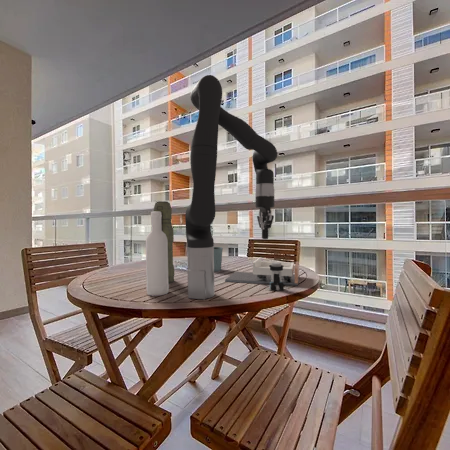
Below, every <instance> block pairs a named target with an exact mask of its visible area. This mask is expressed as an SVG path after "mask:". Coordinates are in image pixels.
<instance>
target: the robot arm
mask: <svg viewBox="0 0 450 450" xmlns="http://www.w3.org/2000/svg"><path fill="white" fill-rule="evenodd" d="M222 87H223V86H222V84H221V82H220V80H219V79H218V78H217V77H216V76H214V75H211V74H207V75H204V76H203V77H201V78H200V79H199V80H198V82H196V84H195V85H194V86H193V88H192V89H191V91H190V94H189V95H190V96H189V97H190V98H189V99H190V101H191V103H192V105H193V106H194V107H195V109H196V110H198V117H197V121H196V124H195V127H194V131H193V135H192V139H191V145H190V159H189V162H190V171H191V176H192V177H191V178H192V183H193V186H192V195H191V196H192V197H191V203H190V204H189V205H188V206H187V208H186V209H185V216H184V217H185V238H186V243H187V244H186V246H187V299H197V300H206V299H210V298H212V297H214V296H215V272H214V247H215V246H214V245H215V244H214V238H213V235H212V226H211V225H212V223H213V222H214V220H215V217H216V200H215V198H216V197H215V194H216V193H215V185H216V184H215V182H216V174H217V163H218V141H219V139H218V138H219V126H220V127H221V128H223V129H224V130H225V131H227V132H228V133H229V135H231V137H233V138H234V139H235V140H236V141H237V142H238V143H239V144H240V145H241V146H242V147H243V148H245V150H252V151H253V154H252V158H251V160H252V164H253V168H254V172H255V207H256V209H259V212H258V215H257V217H256V219H257V223H258V225H259V228H260V230H261V239H262V240H268V239H269V230H270V229H271V228H272V225H273V222H274V216H275V215H274V214H273V215H272V209H273V208H274V207H275V185H274V184H275V182H274V179H275V178H274V171H273V170H272V169H270V168H268V164H269V163H273V162H275V161H276V159H277V158H278V150H277V147H276V146H275V145H274V144H273V143H272V142H270V141H269V140H267V139H266V138H264V137H263V136H262V135H259V134H258V133H257V132H256V131H255V129H253V128H252V127H251V126H250V124H249V123H247V122H246V121H245V120H243V119H242V118H239V117H238V116H235V115H233V114H232V113H230V112H228V111H227V110H225V109H224V108H223V107H222V101H223V88H222Z"/></svg>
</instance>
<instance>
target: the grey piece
mask: <svg viewBox="0 0 450 450" xmlns="http://www.w3.org/2000/svg"><path fill="white" fill-rule="evenodd" d="M299 262H300V261H295V263H294V273H293V276H289V279H288V280H285V279H284V276H281V280H282V283H283V284H284V286H293V287H298V286H299V285H298V284H299V279H300V278H299V277H300V263H299ZM271 280H272V275H263V277H262V278H261V279H259V278H258V277H257V275H254V274H253V271H251V272H248V271H234V272H233V273H232V274H230V275H229V276H227V277H226V278H225V279H224V281H225V283H243V284H255V285H257V284H261V285H270V282H271Z"/></svg>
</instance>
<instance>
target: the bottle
mask: <svg viewBox="0 0 450 450" xmlns="http://www.w3.org/2000/svg"><path fill="white" fill-rule="evenodd" d="M161 217H162V215H161V212H154V211H150V225H151V227H150V228H151V230H150V232H149V233H148V234H147V235H146V238H145V260H146V261H145V267H146V270H145V271H146V272H145V273H146V295H148V296H150V297H152V296H153V297H157V296H159V297H160V296H163V295H167V294H168V293H169V287H170V286H169V284H170V283H168V240H167V237H166V234H165V233H164V232H163V231H162V225H161Z"/></svg>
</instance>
